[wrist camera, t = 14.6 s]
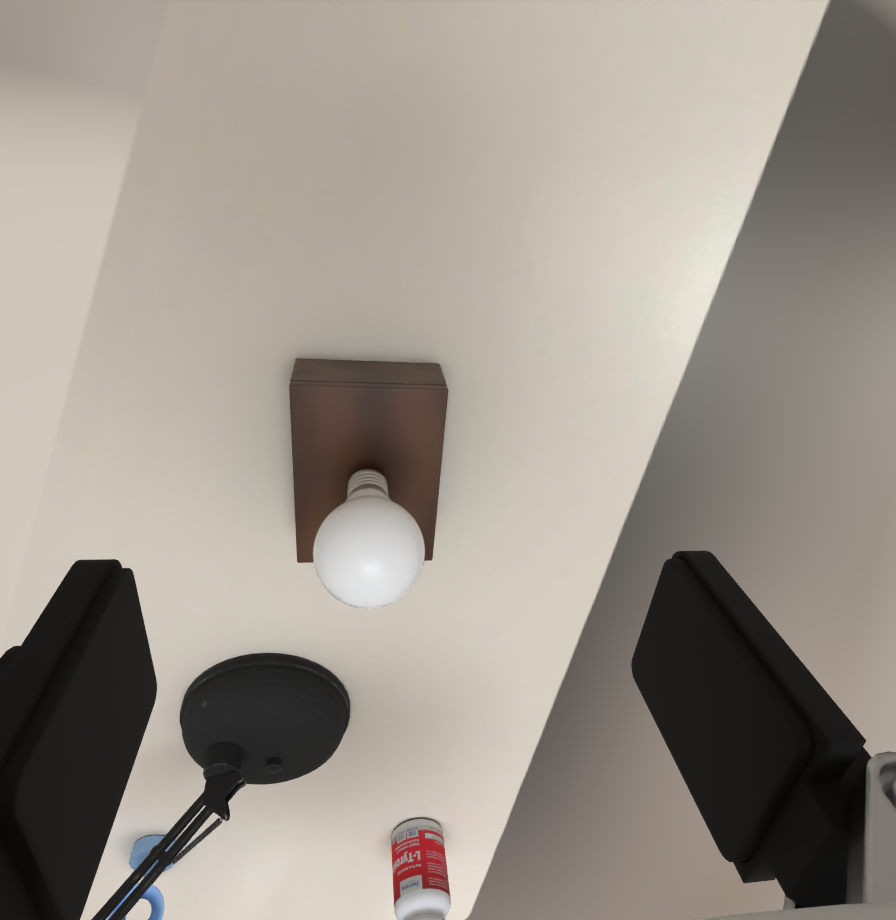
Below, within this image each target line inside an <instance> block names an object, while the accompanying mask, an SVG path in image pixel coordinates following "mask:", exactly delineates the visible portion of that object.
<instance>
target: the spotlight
mask: <svg viewBox="0 0 896 920" xmlns="http://www.w3.org/2000/svg"><path fill="white" fill-rule="evenodd" d="M164 837H165V836H161V835H151V836H146V837H143V838H141V839H139V840H138V841H137V842H136V843H135V844H134V848H133V851H132V852H131V858H130V861H129V864H130V866H131V868H132V869H134V870H136V868H137V867H138V866H139V865H140V864H141V863H142V862H143V861H144V859H145V858H146V857H147V856H148V855H149V854H150V851H151V849H152V848H153V847H154V846H155V845H158V843H159V842H160V841H161V840H162V839H163V838H164ZM174 843H175V841H173V842H172V843H171V844H170V846H169V847H168V848H167V849H166V850H165V851H166V852H167V851H168V850H169V848H170V847H171V846H172V845H173V844H174ZM157 862H158V860H157V861H156V862H155V863H154V864H153V865H152V866H151V867H150V869H149V870H148V871H147V872H146V873H145V874H144V878H145V876H146V875H147V874H148V873H149V872H150V871H151V869H152V868H153V867H154V866H155V865H156V864H157ZM172 865H173V863H172V864H171V865H169V866H167V867H166V868H165V870H164V871H166V870H168V869H170V868H171V867H172ZM164 871H163V872H164ZM144 878H143V879H144ZM138 884H139V883H137V884H136V885H135V886H134V887H133V888H132V889H131V891H130V892H129V893H128V894H127V895H126V896H125V898H124V899H123V900H122V901H121V902H120V903H119V905H118V906H117V907H116V908H115V909H114V910H113V911H112V913H111V914H110V915H109V916H108V918H107V920H108V919H109V918H110V917H111V916H112V915H113V914H114V912H115V911H116V910H117V909H118V908H119V907H120V905H121V904H122V903H123V902H124V901H125V900H126V898H127V897H128V896H129V895H130V894H131V893H132V891H133V890H134V889H135V888H136V887H137V886H138ZM141 898H143V899H147V900H148V901H149V902H150V904H151V907H152V911H151V915H150V917H149V919H148V920H161V919H162V917H163V913H164V899H163V896H162V893H161V892H160V890H159V889H158V888H157V887H156V886H154V885H151V886H150V887H149V889H148V890H147V891H146V892H145V893H144V894H143V896H142V897H141ZM141 898H140V899H141ZM122 920H126V918H125V917H124V918H123V919H122Z"/></svg>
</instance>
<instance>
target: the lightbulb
mask: <svg viewBox="0 0 896 920" xmlns="http://www.w3.org/2000/svg"><path fill="white" fill-rule="evenodd" d="M347 493H348V494H347V499H346V501H345V503H343V504H341V505H339V506H338V507H337V508H335V509H334V510H333V511H332V512H331V513H330V514H329V515H328V516H327V517H326V518H325V520H324V521H323V522H322V524H321V526H320V528H319V530H318V532H317V534H316V537H315V541H314V547H313V561H314V567H315V570H316V573H317V576H318V578H319V580H320V582H321V583H322V585H323V586H324V588H325V589H326V590H327V591H328V592H329V593H330V594H331V595H332V596H333V597H334V598H336V599H337V600H339V601H340V602H342V603H344V604H346V605H349V606H352V607H356V608H362V609H374V608H380V607H384V606H387V605H390V604H392V603H394V602H396V601H397V600H399V599H400V598H402V597H403V596H404V595H405V594H407V593H408V592H409V591H410V589H411V588H412V587H413V586H414V584H415V583H416V581H417V580H418V578H419V576H420V573H421V571H422V568H423V564H424V558H425V545H424V539H423V536H422V533H421V530H420V528H419V526H418V524H417V522H416V521H415V519H414V518H413V517H412V515H411V514H410V513H409V512H408V511H407V510H406V509H404V508H403V507H402V506H400V505H399V504H397V503H395V502H393V501H391V499H390V498H389V497H388V485H387V481H386V478H385V477H384V476H383V475H382V474H381V473H380V472H378V471H376V470H372V469H364V470H360V471H358V472H356V473H354V474H353V475H352V476H351V478H350V479H349V482H348V492H347Z"/></svg>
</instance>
